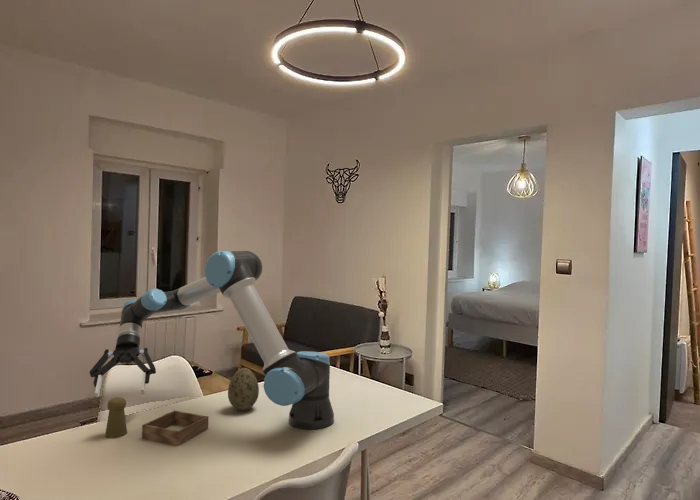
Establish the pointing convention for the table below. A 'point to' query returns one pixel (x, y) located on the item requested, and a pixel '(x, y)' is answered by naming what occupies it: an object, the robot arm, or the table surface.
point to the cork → (116, 418)
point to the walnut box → (160, 433)
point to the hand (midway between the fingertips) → (120, 393)
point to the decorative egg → (243, 389)
